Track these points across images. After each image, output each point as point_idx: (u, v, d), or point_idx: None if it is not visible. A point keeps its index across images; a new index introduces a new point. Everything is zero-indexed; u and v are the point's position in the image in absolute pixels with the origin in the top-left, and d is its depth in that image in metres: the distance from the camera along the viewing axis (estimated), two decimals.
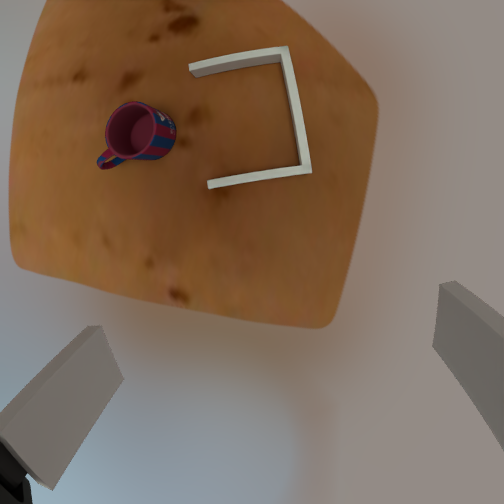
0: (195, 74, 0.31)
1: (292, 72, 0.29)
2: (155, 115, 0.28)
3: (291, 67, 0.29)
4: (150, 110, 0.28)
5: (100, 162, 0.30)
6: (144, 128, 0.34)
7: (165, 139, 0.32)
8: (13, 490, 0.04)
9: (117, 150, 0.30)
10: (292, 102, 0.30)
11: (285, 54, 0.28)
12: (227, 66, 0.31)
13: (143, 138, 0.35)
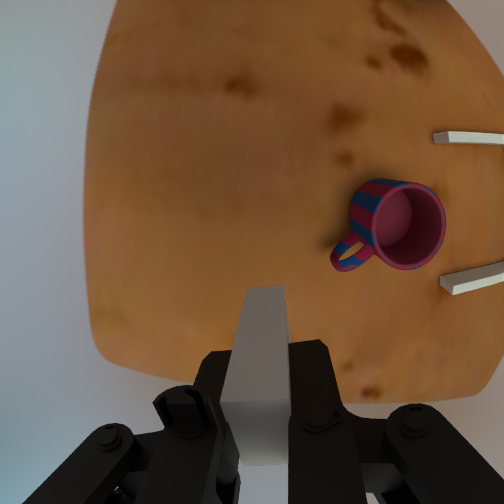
0: (442, 142, 0.22)
1: None
2: None
3: None
4: (440, 204, 0.19)
5: (351, 266, 0.21)
6: None
7: None
8: (217, 490, 0.05)
9: None
10: None
11: None
12: (474, 143, 0.22)
13: None
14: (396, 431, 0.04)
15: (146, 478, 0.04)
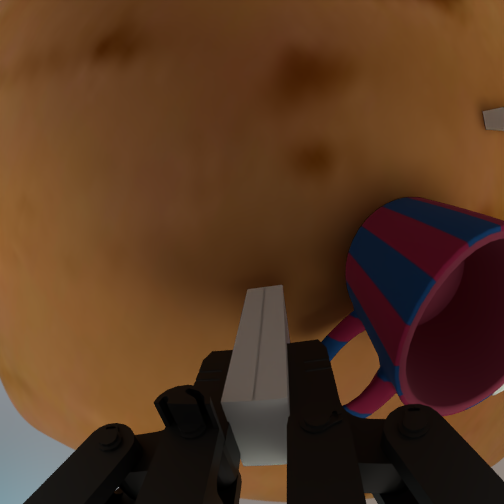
0: (503, 128, 0.09)
1: None
2: None
3: None
4: None
5: None
6: None
7: None
8: (218, 490, 0.05)
9: (413, 388, 0.08)
10: None
11: None
12: None
13: None
14: (394, 431, 0.04)
15: (148, 478, 0.04)
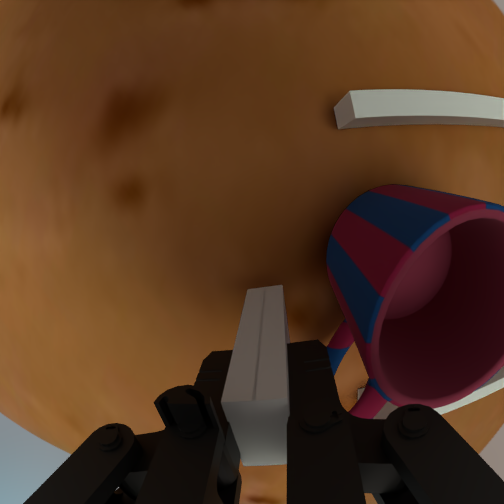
0: (351, 124, 0.10)
1: None
2: None
3: None
4: None
5: None
6: None
7: None
8: (218, 490, 0.05)
9: (409, 386, 0.08)
10: None
11: None
12: (440, 120, 0.10)
13: None
14: (394, 432, 0.04)
15: (147, 478, 0.04)
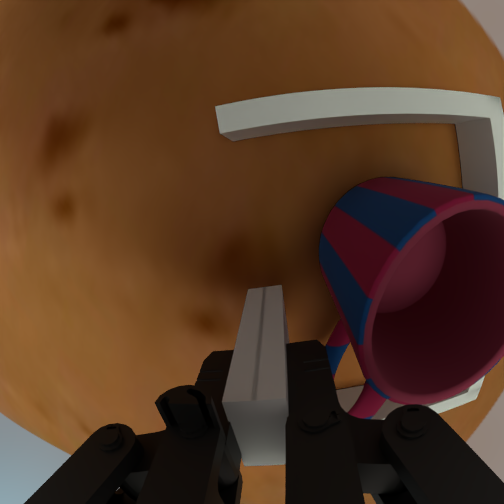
0: (235, 137, 0.11)
1: None
2: None
3: None
4: None
5: None
6: None
7: None
8: (219, 490, 0.05)
9: (408, 382, 0.08)
10: None
11: (498, 123, 0.08)
12: (341, 121, 0.10)
13: None
14: (393, 432, 0.04)
15: (148, 478, 0.04)
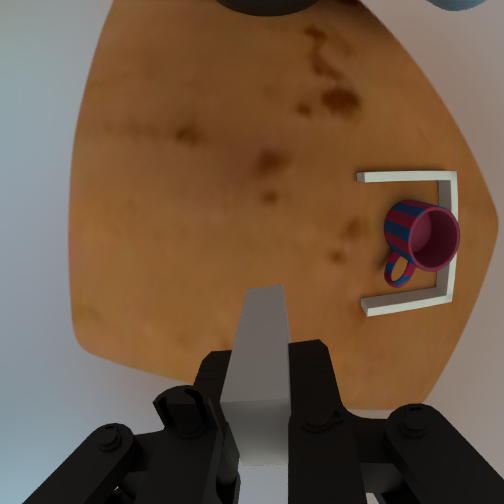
0: (362, 181, 0.30)
1: (456, 203, 0.27)
2: None
3: (456, 197, 0.27)
4: (450, 213, 0.24)
5: (403, 282, 0.27)
6: None
7: None
8: (217, 490, 0.05)
9: (420, 263, 0.27)
10: None
11: (453, 181, 0.27)
12: None
13: None
14: (396, 431, 0.04)
15: (146, 477, 0.04)
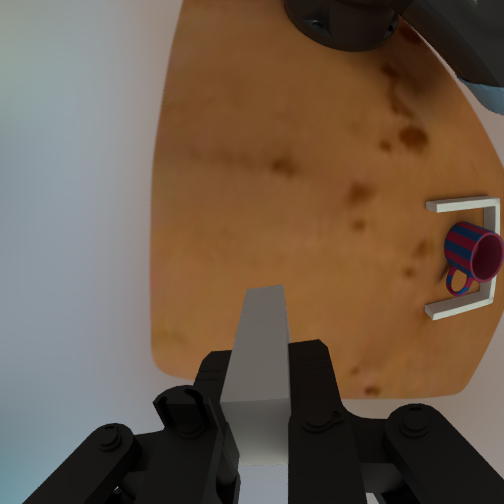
0: None
1: (499, 224, 0.30)
2: None
3: (499, 219, 0.30)
4: (499, 236, 0.27)
5: (464, 292, 0.30)
6: None
7: None
8: (217, 490, 0.05)
9: (476, 277, 0.29)
10: None
11: (497, 206, 0.29)
12: None
13: None
14: (396, 431, 0.04)
15: (146, 478, 0.04)
